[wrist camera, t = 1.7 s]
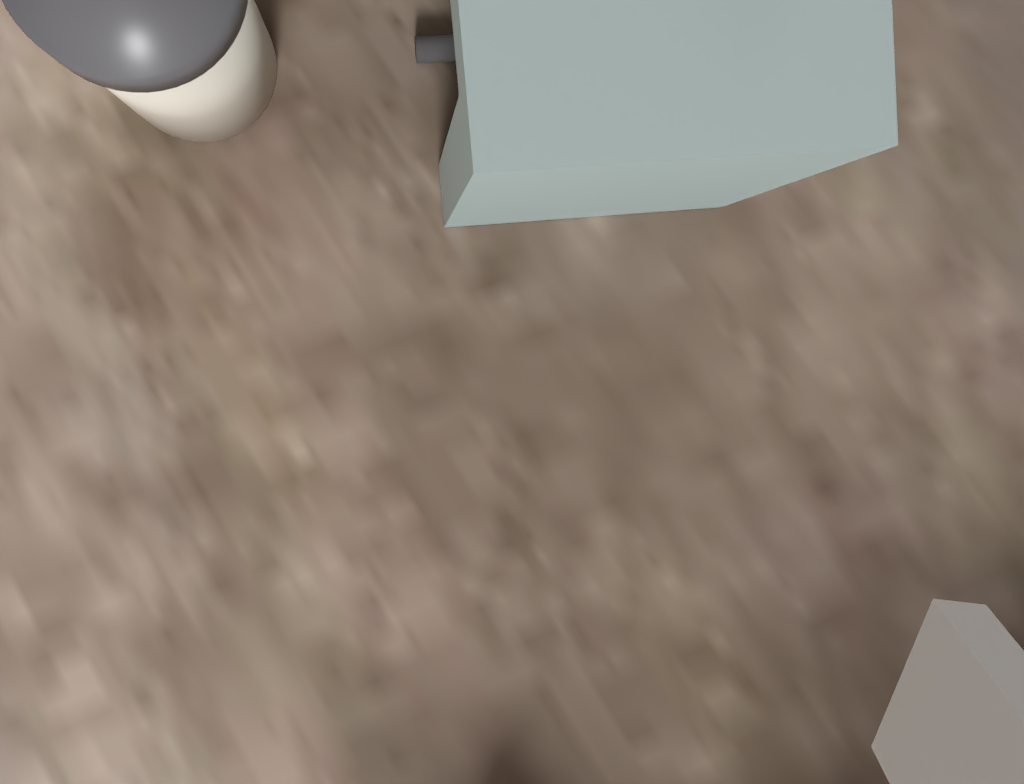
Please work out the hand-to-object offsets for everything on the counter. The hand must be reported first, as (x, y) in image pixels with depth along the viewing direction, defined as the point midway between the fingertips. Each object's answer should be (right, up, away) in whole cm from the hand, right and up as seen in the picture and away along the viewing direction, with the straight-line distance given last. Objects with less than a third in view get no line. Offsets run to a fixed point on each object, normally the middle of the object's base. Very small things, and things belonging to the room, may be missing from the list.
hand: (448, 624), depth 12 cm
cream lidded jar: (-11, +16, +22) cm, 29 cm away
